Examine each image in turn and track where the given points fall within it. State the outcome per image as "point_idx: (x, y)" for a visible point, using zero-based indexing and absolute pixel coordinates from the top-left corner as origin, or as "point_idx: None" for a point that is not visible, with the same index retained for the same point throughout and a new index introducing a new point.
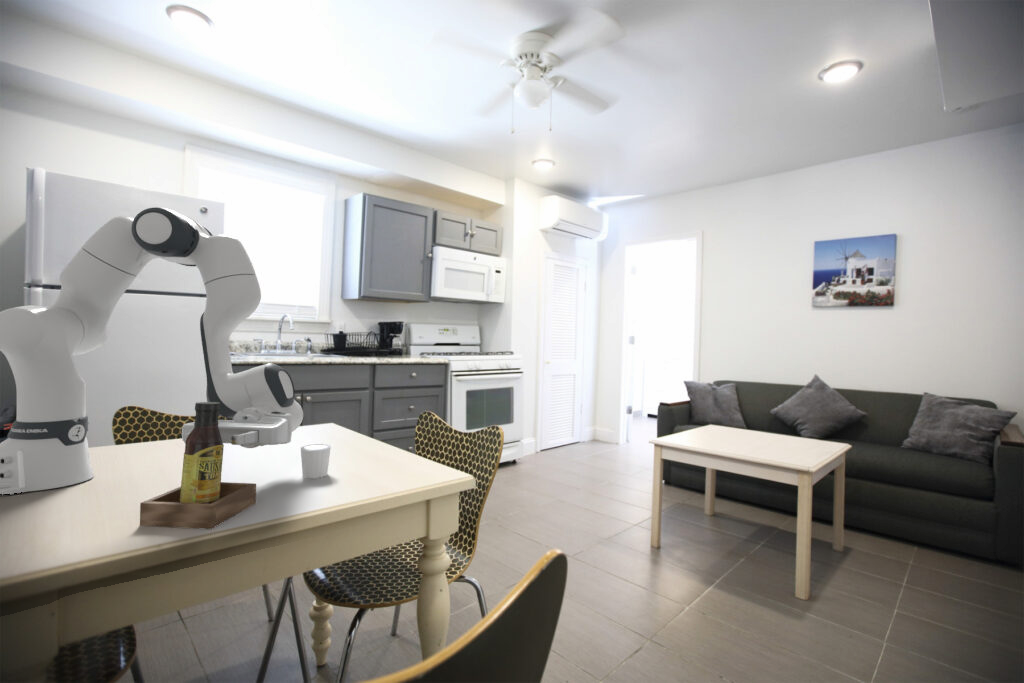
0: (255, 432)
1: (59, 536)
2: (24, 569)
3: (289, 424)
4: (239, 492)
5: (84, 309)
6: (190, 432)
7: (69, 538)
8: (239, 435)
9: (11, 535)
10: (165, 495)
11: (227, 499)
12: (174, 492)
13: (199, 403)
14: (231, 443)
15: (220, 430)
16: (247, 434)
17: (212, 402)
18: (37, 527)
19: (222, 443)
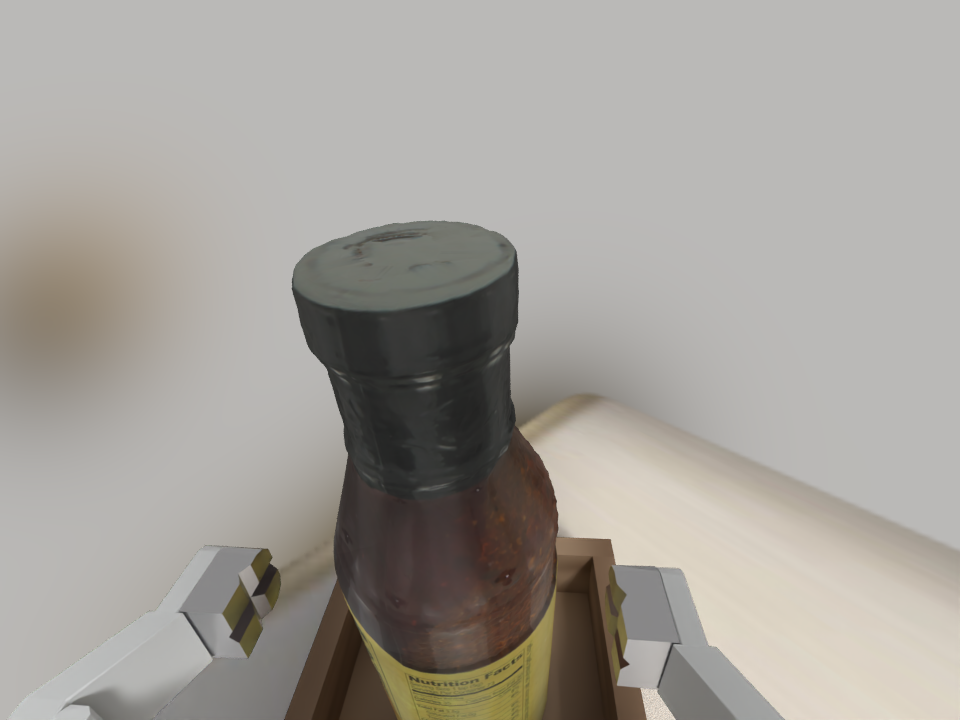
0: (15, 717)
1: (736, 514)
2: (609, 410)
3: None
4: (293, 698)
5: None
6: (714, 648)
7: (695, 506)
8: (200, 561)
9: (864, 513)
10: (603, 629)
11: (328, 609)
12: (612, 691)
13: (438, 221)
14: (279, 580)
15: None
16: (124, 631)
17: (375, 269)
18: (891, 561)
19: (334, 541)
